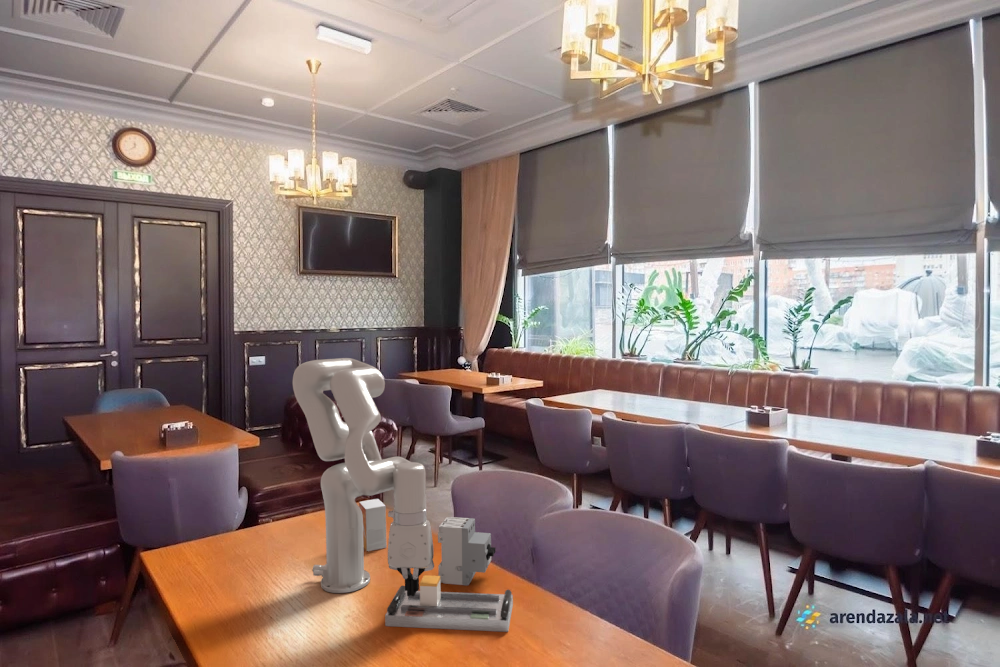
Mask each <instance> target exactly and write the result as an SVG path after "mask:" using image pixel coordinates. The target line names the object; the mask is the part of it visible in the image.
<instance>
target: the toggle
mask: <svg viewBox="0 0 1000 667" xmlns="http://www.w3.org/2000/svg"><path fill="white" fill-rule="evenodd" d="M441 588H442V587H441V583H440V576H439V575H428V574H427V575H426V574H425V575H423V576H422V578H421V580H420V581H419V591H420V606H438V604H439V602H440V599H441V592H442V591H441V590H442V589H441Z"/></svg>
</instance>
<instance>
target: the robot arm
mask: <svg viewBox="0 0 1000 667" xmlns="http://www.w3.org/2000/svg"><path fill="white" fill-rule="evenodd" d="M385 385H386V382H385V378H384V376H383V374H382V372H381V371H380V370H379V369H378V368H376V367H375V366H373V365H371V364H368V363H366V362H363V361H360V360H357V359H354V358H350V357H339V358H327V359H325V358H324V359H313V360H310V361H306V362H303V363H301V364H299V365H298V366H297V367H296V368H295V369H294V373H293V376H292V390H293V393H294V396H295V399H296V402H297V403H298V405H299V406H300V408H301V410H302V412H303V414H304V415H305V419H306V422H307V425H308V429H309V432H310V436H311V438H312V442H313V445H314V448H315V450H316V453H317V456H318V457H319V458H320V460H322V461H324V462H334V461H339V460H342V459H344V462H341V463H337V464H335V465H332V466H331V467H328V468H327V469H326V470H325V471H324V472H323V473H322V475H321V478H320V488H321V492H322V498H323V505H324V515H325V516H324V517H325V544H326V545H325V546H326V549H325V550H326V552H325V553H326V563H325V564H324V565H321V564H313V566H312V573H313V574H312V575H313V576H314V577H319V576H320V577H321V579H320V587H321V588H322V589H323V590H324V591H326V592H327V593H332V594H345V593H351V592H355V591H358V590H361V589H363V588H365V587H366V586H367V585H369V583H370V581H371V574H370V572H368V571H367V570H365V560H364V559H365V557H364V556H365V555H364V551H365V548H364V546H363V514H362V511H361V509H360V507H359V504H358V503H357V502H356V498H359V497H361V496H368V497H370V496H374V495H378V494H381V493H385V492H389V491H393V510H388V513H387V517H390V518H392V521H391V523H390V525H389V532H388V544H387V564H388V568H389V569H390V570H393V571H398V573H399V574H400V575H401V576H402V579H404V586H405V591H407V596H410V595H411V596H414V595H415V594H416V592H417V591H420V576H421V575H422V574H423V573H424V572H429V571H432V570H434V568H435V563H434V556H435V555H434V551H435V550H434V540H433V533H432V527H431V523H430V520H429V519H427V516H428V515H427V484H426V483H427V479H426V478H427V477H426V476H427V474H426V473H427V472H426V468H425V465H423V464H422V463H420V462H418V461H417V462H416V461H415V462H414V461H410V460H408V459H406V458H405V457H402V456H391V457H388V458H382V456H381V453H380V451H379V447H378V444H377V441H376V438H375V436H374V432H373V431H372V430H374V429H375V428H376V427H377V426H378V425H379V424H380V422H381V420H382V417H381V413H380V411H379V410H378V407H377V405H376V403H375V401H374V398H377V397H379V396H381V395H382V394H383V393H384V391H385ZM324 391H331V393H332V394H333V398H334V400H335V402H336V404H335V402H334V401H333V400H332V399H331V398H330V397H328V396H327V395H326V394H325V393H324ZM338 408H339V409H338ZM339 411H340V412H339ZM340 413H341V416H342V418H343V420H344V421H343V420H342V418H341V416H340ZM411 569H412V570H413V572H411V571H412V570H411Z"/></svg>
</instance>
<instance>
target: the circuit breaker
mask: <svg viewBox="0 0 1000 667" xmlns="http://www.w3.org/2000/svg"><path fill="white" fill-rule="evenodd" d="M437 533H438V534H437V543H438V544H439V543H441V545H440V546H441V549H440V550H441V561H440V562H439V564H438V567H437V568H438V576H440V583H443V584H445V585H447V584H448V585H458V586H469V585H470V583H471V582H472V580H473V578H474V576H475V574H476V573H484V574H485V573H486V571H487V569H488V568H489V566H490V564H491V561H492V557H494V555H495V553H496V547H493V546H492V534H491V533H490V532H481V531H480V532H479V531H478V532H477V531H476V518H471V517H456V516H455V517H454V516H451V517H449V516H446V518H445V519H444V520H443V521H442V522H441V523H440V524H439V526H438V532H437Z"/></svg>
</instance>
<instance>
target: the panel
mask: <svg viewBox="0 0 1000 667" xmlns="http://www.w3.org/2000/svg"><path fill="white" fill-rule="evenodd" d="M513 598H514V594H512V591H511V589H506V590H505V591H504V594H503V593H476V592H457V591H456V592H453V591H452V592H451V591H441V599H440V602H439V604H438V606H420V590H418V591H417V592H416V594H415V595H414V596H411V595H410V596H407V591H405V585H401V586H400V587H399V588H398V590H397V592H396V593H395V594H394V596H393V598H392V600H391V601H390V604H389V605H388V607H387V608H386V612H385V614H384V615H385V616H384V622H385V623H384V625H385V627H394V628H395V627H398V628H401V627H402V628H415V629H416V628H419V629H438V630H439V629H441V630H443V629H444V630H461V631H463V630H464V631H482V632H485V631H486V632H503V633H504V632H505V633H509V631H510V630H509V629H510V624H511V618H512V612H513V606H514V599H513Z"/></svg>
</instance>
